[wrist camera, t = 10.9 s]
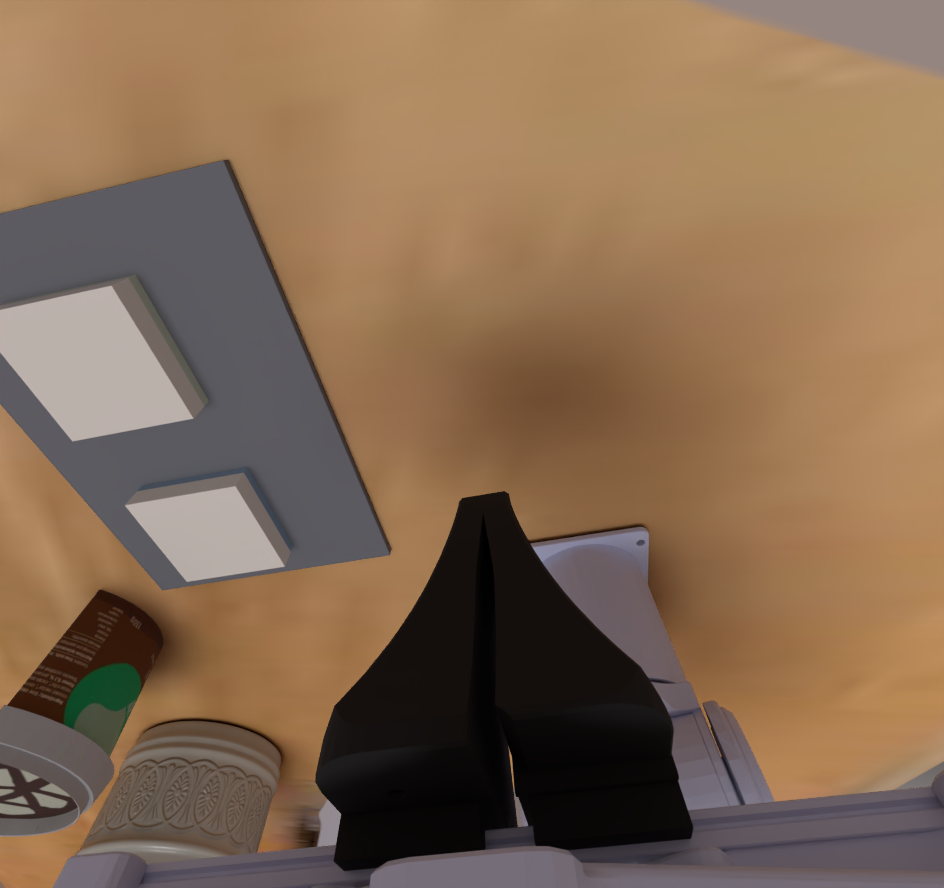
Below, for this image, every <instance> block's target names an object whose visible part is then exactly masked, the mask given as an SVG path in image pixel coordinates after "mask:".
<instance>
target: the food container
mask: <svg viewBox="0 0 944 888" xmlns="http://www.w3.org/2000/svg"><path fill="white" fill-rule="evenodd" d="M162 645H163V637H162V633H161V631H160V629H159V627H158V626H157V624H156V623H155V622H154V621H153V619H152V618H150V617H149V616H148V615H147V614H146V613H145V612H144V611H142V610H141V609H139V608H138V607H137V606H135V605H133V604H131V603H130V602H128V601H126V600H124V599H122V598H120V597H118V596H116V595H113V594H111V593H108V592H105V591H102V590H99V591H98V592H97V594H96V595H95V596H94V597H93V599H92V600H91V601H90V602H89V604H88V605H87V606H86V607H85V609H84V610H83V611H82V612H81V614H80V615H79V616H78V617H77V619H76V620H75V621H74V623H73V624H72V625H71V626H70V628H69V629H68V630H67V631H66V633H65V634H64V635H63V636H62V638H61V639H60V640H59V641H58V643H57V644H56V645H55V646H54V648H53V649H52V650H51V651H50V653H49V654H48V655H47V656H46V658H45V659H44V660H43V661H42V663H41V664H40V665H39V666H38V668H37V669H36V670H35V671H34V673H33V674H32V675H31V676H30V678H29V679H28V680H27V681H26V683H25V684H24V685H23V686H22V688H21V689H20V690H19V691H18V693H17V694H16V695H15V696H14V698H13V699H12V700H11V701H10V703H9V704H8V705H4V706H3V708H2V709H1V710H0V836H32V835H40V834H47V833H52V832H56V831H59V830H62V829H64V828H67V827H69V826H70V825H72V824H74V823H75V822H76V820H77V819H78V818H79V817H80V815H81V814H82V813H84V812H86V811H87V810H88V809H89V808H90V807H91V806H92V804H93V803H94V802H95V800H96V799H97V798H98V796H99V795H100V794H101V792H102V791H103V790H104V788H105V787H106V786H107V785H108V783H109V782H110V781H111V779H112V778H113V774H114V765H113V763H112V761H111V759H110V755H111V753H112V751H113V749H114V747H115V745H116V743H117V740H118V738H119V736H120V734H121V732H122V730H123V728H124V726H125V724H126V722H127V719H128V717H129V715H130V713H131V711H132V709H133V707H134V705H135V703H136V701H137V699H138V696H139V694H140V692H141V690H142V688H143V686H144V684H145V682H146V680H147V678H148V675H149V673H150V671H151V669H152V667H153V665H154V663H155V661H156V659H157V657H158V654H159V652H160V650H161V648H162Z"/></svg>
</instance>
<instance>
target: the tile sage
mask: <svg viewBox="0 0 944 888" xmlns="http://www.w3.org/2000/svg"><path fill="white" fill-rule="evenodd" d="M0 353H1V354H2V355H3V357H4V358H5V359H6V360H7V361H8V363H9V364H10V365H11V366H12V368H13V369H14V370H15V371H16V373H17V374H18V375H19V376H20V377H21V379H22V380H23V381H24V382H25V384H26V385H27V386H28V387H29V389H30V390H31V391H32V392H33V393H34V395H35V396H36V397H37V398H38V400H39V401H40V402H41V403H42V405H43V406H44V407H45V408H46V409H47V411H48V412H49V413H50V414H51V416H52V417H53V418H54V419H55V420H56V422H57V423H58V424H59V425H60V427H61V428H62V429H63V430H64V432H65V433H66V434H67V435H68V436H69V438H70V439H71V440H72V441H77V440H83V439H88V438H93V437H98V436H104V435H109V434H114V433H120V432H125V431H130V430H136V429H141V428H146V427H152V426H157V425H162V424H168V423H173V422H178V421H184V420H189V419H194V418H195V416H196V415H197V414H198V413H199V412H200V411H201V410H202V409H203V408H204V406H205V405H206V404H207V403H208V402H209V400H208V398H207V397H206V395H205V393H204V392H203V390H202V388H201V386H200V385H199V383H198V381H197V380H196V378H195V376H194V374H193V373H192V371H191V369H190V368H189V366H188V364H187V362H186V361H185V359H184V357H183V355H182V354H181V352H180V350H179V349H178V347H177V345H176V343H175V342H174V340H173V338H172V337H171V335H170V333H169V331H168V330H167V328H166V326H165V325H164V323H163V321H162V319H161V318H160V316H159V314H158V312H157V311H156V309H155V307H154V306H153V304H152V302H151V300H150V299H149V297H148V295H147V294H146V292H145V290H144V288H143V287H142V285H141V283H140V282H139V280H138V278H137V276H136V275H130V276H126V277H121V278H117V279H112V280H108V281H103V282H99V283H94V284H90V285H85V286H80V287H76V288H71V289H67V290H62V291H58V292H53V293H49V294H44V295H39V296H35V297H30V298H26V299H21V300H17V301H12V302H8V303H3V304H1V305H0Z"/></svg>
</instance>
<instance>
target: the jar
mask: <svg viewBox="0 0 944 888" xmlns="http://www.w3.org/2000/svg"><path fill="white" fill-rule="evenodd" d="M280 765H281V756H280V753H279V752H278V750H277V749H276V748H275V746H274V745H272V744H271V743H270V742H269V741H267V740H266V739H264V738H263V737H261V736H259V735H257V734H255V733H253V732H250V731H248V730H245V729H242V728H239V727H235V726H231V725H227V724H222V723H215V722H206V721H179V722H171V723H166V724H162V725H159V726H156V727H154V728H151V729H149V730H147V731H146V732H145V733H143V734H142V735H141V736H140V738H139V739H138V741H137V743H136V744H135V745H134V746H133V747H132V749H131V750H130V751H129V752H128V754H127V756H126V758H125V761H124V762H123V763H122V765H121V767H120V770H119V775H118V777H117V779H116V781H115V783H114V785H113V787H112V789H111V791H110V793H109V795H108V797H107V798H106V800H105V802H104V804H103V806H102V808H101V810H100V812H99V814H98V816H97V818H96V820H95V821H94V823H93V825H92V827H91V829H90V831H89V833H88V835H87V837H86V839H85V841H84V843H83V844H82V846H81V848H80V850H79V851H78V852H77V853H76V854H75V855H83V854H93V853H103V852H112V851H123V852H129V853H132V854H135V855H137V856H139V857H141V858H142V859H144V860H145V861H146V863H147V864H149V863H160V862H170V861H180V860H190V859H200V858H210V857H220V856H230V855H241V854H251V853H257V851H258V848H259V844H260V840H261V837H262V833H263V830H264V826H265V822H266V819H267V815H268V811H269V808H270V804H271V801H272V798H273V796H274V795H275V793H276V790H277V784H278V782H279V779H280Z"/></svg>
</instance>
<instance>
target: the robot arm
mask: <svg viewBox="0 0 944 888" xmlns="http://www.w3.org/2000/svg"><path fill="white" fill-rule="evenodd" d="M639 540H641V541H639ZM648 558H649V533H648V531H647V529H646V528H644V527H635V528H629V529H622V530H616V531H609V532H602V533H596V534H589V535H583V536H576V537H570V538H563V539H557V540H550V541H543V542H537V543H530V542H529V541H528V539H527V537H526V535H525V534H524V532H523V530H522V528H521V526H520V524H519V522H518V520H517V518H516V515H515V513H514V511H513V508H512V505H511V502H510V497H509V494H508V493H506V492H505V491H503V492H497V493H491V494H485V495H479V496H473V497H466V498H462V499H461V500H460V502H459V506H458V510H457V513H456V517H455V520H454V523H453V526H452V528H451V531H450V534H449V537H448V539H447V541H446V544H445V546H444V549H443V551H442V554H441V556H440V558H439V560H438V562H437V565H436V567H435V569H434V571H433V573H432V575H431V577H430V579H429V581H428V583H427V585H426V587H425V588H424V590H423V592H422V594H421V596H420V597H419V599H418V601H417V602H416V604H415V606H414V607H413V609H412V611H411V612H410V614H409V615H408V617H407V618H406V620H405V621H404V623H403V624H402V626H401V627H400V629H399V630H398V632H397V633H396V634H395V636H394V637H393V639H392V640H391V641H390V643H389V644H388V645H387V646H386V648H385V649H384V650H383V651H382V653H381V654H380V655H379V657H378V658H377V659H376V660H375V662H374V663H373V664H372V665H371V667H370V668H369V669H368V670H367V671H366V673H365V674H364V675H363V676H362V677H361V678H360V679H359V680H358V681H357V682H356V684H355V685H354V686H353V687H352V688H351V689H350V690H349V691H348V692H347V693H346V694H345V696H344V697H343V698H342V699H341V700H340V701H339V702H338V703H337V704H336V705H335V706H334V709H333V712H332V715H331V718H330V721H329V724H328V727H327V730H326V733H325V736H324V739H323V744H322V748H321V753H320V757H319V762H318V766H317V771H316V780H315V782H316V784H317V786H318V787H319V789H320V791H321V792H322V793H323V795H324V796H325V797H326V798H327V799H328V800H329V801H330V802H331V803H332V804H333V805H334V807H336V809H337V810H338V811H339V812H340V813H341V819H340V825H339V831H338V837H337V843H336V845H332V846H322V847H312V848H301V849H291V850H281V851H271V852H261V853H251V854H241V855H230V856H220V857H210V858H200V859H190V860H180V861H170V862H160V863H149V864H147V863H146V861H145V860H144V859H142V858H141V857H139V856H137V855H135V854H132V853H129V852H123V851H112V852H103V853H93V854H83V855H74V856H72V857H70V858H69V859H68V860H67V862H66V864H65V866H64V868H63V869H62V871H61V873H60V875H59V877H58V879H57V881H56V883H55V885H54V886H53V888H944V770H943V771H942V772H940V773H939V774H938V775H937V776H936V777H935V778H934V780H933V783H932V786H930V787H919V788H910V789H899V790H889V791H879V792H869V793H859V794H849V795H838V796H828V797H818V798H808V799H798V800H788V801H778V802H775V801H774V798H773V796H772V794H771V792H770V789H769V787H768V785H767V783H766V780H765V778H764V776H763V774H762V772H761V769H760V767H759V765H758V763H757V761H756V758H755V756H754V754H753V752H752V750H751V748H750V746H749V744H748V742H747V740H746V737H745V735H744V733H743V731H742V729H741V728H740V726H739V724H738V722H737V720H736V718H735V717H734V715H733V714H732V712H730V711H728V710H727V709H725V708H723V707H720V706H719V705H718V703H717V702H715V701H708V702H705V703H702V704H703V706H704V709H705V712H706V715H707V717H708V720H709V722H710V725H711V730H712V733H713V736H714V738H715V741H716V743H717V746H718V748H719V751H720V753H721V756H722V757H721V756H720V753H719V751H718V749H717V746H716V744H715V741H714V739H713V737H712V734H711V732H710V729H709V727H708V725H707V722H706V720H705V718H704V715H703V713H702V711H701V708H700V706H699V703H698V701H697V698H696V696H695V694H694V691H693V689H692V686H691V684H690V682H688V681H687V680H686V677H685V675H684V672H683V670H682V668H681V665H680V663H679V660H678V658H677V655H676V653H675V650H674V648H673V645H672V643H671V641H670V638H669V636H668V633H667V631H666V628H665V626H664V623H663V621H662V618H661V616H660V614H659V611H658V609H657V606H656V604H655V601H654V599H653V596H652V594H651V592H650V589H649V587H648ZM508 746H509V748H508ZM509 749H510V752H511V755H512V762H513V774H514V786H515V794H516V797H519V800H520V810H521V818H522V825H523V827H518V825H517V817H516V809H515V800H514V792H513V783H512V775H511V766H510V757H509Z"/></svg>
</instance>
